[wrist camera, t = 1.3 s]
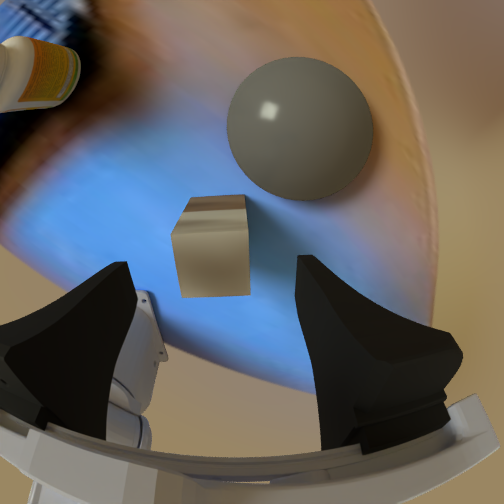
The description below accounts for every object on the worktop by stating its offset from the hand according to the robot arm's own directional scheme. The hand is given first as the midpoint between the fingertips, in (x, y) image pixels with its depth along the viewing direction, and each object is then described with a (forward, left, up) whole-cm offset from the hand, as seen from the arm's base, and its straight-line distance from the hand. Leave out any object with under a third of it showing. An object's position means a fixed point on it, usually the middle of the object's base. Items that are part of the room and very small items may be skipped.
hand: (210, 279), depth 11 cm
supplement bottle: (+13, +13, -11) cm, 21 cm away
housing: (-1, 0, -10) cm, 10 cm away
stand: (+6, -6, -10) cm, 13 cm away
